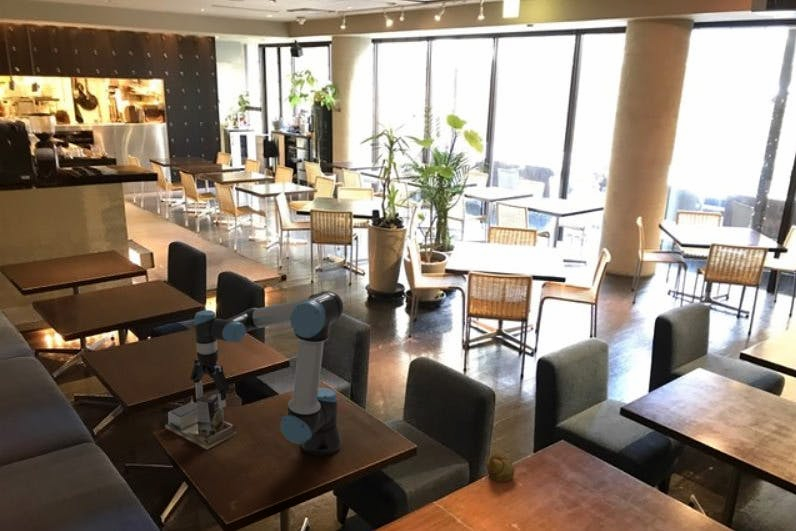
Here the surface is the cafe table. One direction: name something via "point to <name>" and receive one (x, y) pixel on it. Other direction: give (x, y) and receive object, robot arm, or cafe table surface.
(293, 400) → the robot arm
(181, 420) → the housing
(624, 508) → the cafe table surface
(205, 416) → the coffee box
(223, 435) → the silver tray
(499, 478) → the olive snail shell
